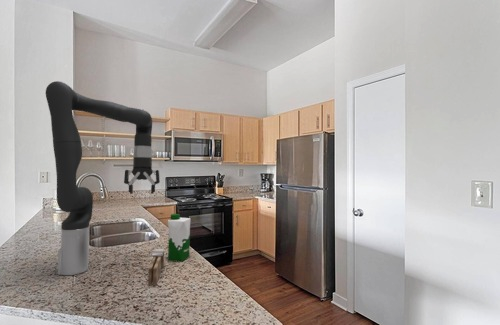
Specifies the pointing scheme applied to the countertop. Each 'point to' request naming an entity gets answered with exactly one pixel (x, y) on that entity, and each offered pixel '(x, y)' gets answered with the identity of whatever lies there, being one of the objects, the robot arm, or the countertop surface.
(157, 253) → the tong frame
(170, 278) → the countertop surface
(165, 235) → the countertop surface
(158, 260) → the tong arm
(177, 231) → the milk carton
